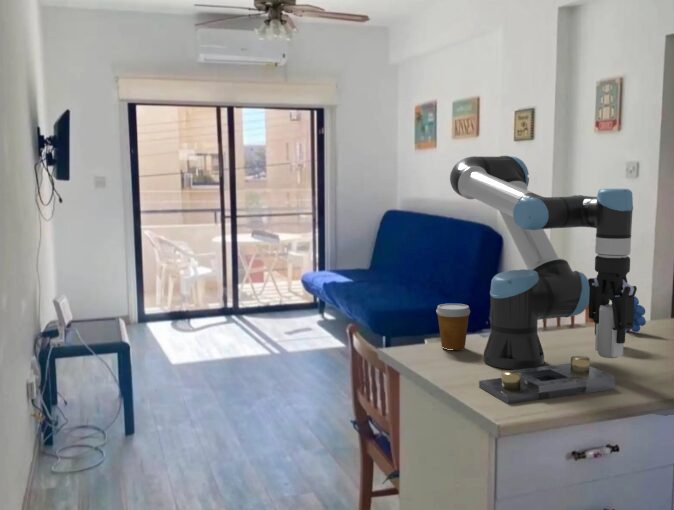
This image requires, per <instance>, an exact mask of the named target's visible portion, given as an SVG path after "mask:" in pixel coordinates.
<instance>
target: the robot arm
mask: <svg viewBox="0 0 674 510" xmlns="http://www.w3.org/2000/svg"><path fill="white" fill-rule="evenodd" d="M449 175H450V176H449V183H450V185H451V188H452V189H453V191H454V192H455V193H456V194H458V196H460V197H462V198H464V199H467V200H477V201H479V202H481V203H483V204H485V205H487V206H490V207H492V208H493V209H496V210H497V211H498V212H499V213H500V216H501V217H502V219H503V222H504V224H505V226H506V228H507V230H508V232H509V234H510V236H511V238H512V240H513V242H514V244H515V246H516V248H517V251H518V252H519V255H520V256H521V258H522V260H523V263H524V264H525V266H526V269H523V268H522V269H518V270H517V269H512V270H507V271H501V272H499V273H497V274H495V275H494V276H493V277H492V279H491V283H490V291H489V294H490V332H489V336H488V339H487V341H486V344H485V348H484V351H483V362H484V363H485V364H487V365H489V366H491V367H494V368H495V367H496V368H500V369H507V370H519V369H527V368H535V367H543V366H544V365H545V353H544V350H543V349H544V348H543V347H542V343H541V340H540V337H539V334H538V324H539V323H538V321H539V320H549V319H550V320H551V319H557V318H558V319H559V318H570V317H573V316H579V315H580V314H582V313H584V312H585V310H586V309H587V308H588V318H589V319H591V320H593V322H594V336H595V347H594V350H595V351H596V352H598V335H599V309H600V305H607V304H610V301H611V304H612V308H613V316H614V323H615V327H614V328H613V329H612V346H611V356H612V357H617V358H618V357H623V356H624V344H625V342H626V335H625V331H626V329H628V328H633V320H634V296H635V297H636V294H637V289H638V288H637V286H636V285H631V284H629V283H628V278H627V275H628V273H629V272H630V271H631V258H630V256H629V255H631V250H632V249H631V247H632V246H631V245H632V244H631V243H632V227H633V226H632V224H633V212H634V205H633V204H634V202H633V201H634V199H633V191H632V190H630V189H629V188H600V189H599V190H598V191H597V196H592V195H591V196H587V195H580V194H578V195H576V194H574V195H569V196H551V197H550V196H547V197H545V196H543V195H542V196H541V195H540V194H537V193H534V192H533V191H529V190H528V186H529V184H530V183H529V182H530V177H529V169H528V166H526V163H525V162H524V161H523V160H522V159H520V158H519V157H516V156H510V155H500V156H477V155H476V156H469V157H468V156H467V157H465V158H463V159H461V160H460V161H458V162H457V163H455V165H454V166H453V168H452V170H451V172H450V174H449ZM565 228H568V229H569V228H593V229H596V231H595V246H594V247H595V248H594V249H595V250H594V252H595V254H596V256H595V257H594V270H595V272H597V275H596V277H591V278H588V277H587V276H586V275H585V273H583V272H580V271H578V270H572V268H571V265H570V264H569V263H568V260H566V259H564V258H559V257H558V253H556V251H555V249H554V247H553V245H552V243H551V241H550V238H549V237H548V235H547V234H546V231H545V230H549V229H551V230H552V229H565ZM615 296H617V297H615ZM620 323H621V324H620ZM626 332H627V331H626Z"/></svg>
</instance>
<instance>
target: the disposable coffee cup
mask: <svg viewBox="0 0 674 510" xmlns="http://www.w3.org/2000/svg"><path fill="white" fill-rule="evenodd" d="M435 311H436V314H437V320H438V326H439V335H440V343H441V348H442V347H444V348H447V349H453V350H461V351H463V350H462V349H464V348H465V347H466V339H467V333H468V323H469V317H470V313H471V310H470V307H469V305H467V304H463V303H444V304H443V303H441V304H438V305H437V308H436V310H435ZM464 350H465V349H464Z"/></svg>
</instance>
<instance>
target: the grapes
mask: <svg viewBox="0 0 674 510" xmlns="http://www.w3.org/2000/svg"><path fill="white" fill-rule="evenodd" d="M615 297H617V296H615ZM645 314H646V309H645V307H644V306H642V305H641V304H640V300H639V298H638V297H637V296H636V295H635V296H634V320H633V328H628V329H627V330H626V332H630V331H632V332H634V333H639V332H640V330H641V327H643V326H645V325H646V322H647V321H646V318H645V317H644V315H645Z"/></svg>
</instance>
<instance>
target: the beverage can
mask: <svg viewBox="0 0 674 510" xmlns="http://www.w3.org/2000/svg"><path fill="white" fill-rule="evenodd" d="M620 324H621V323H620ZM614 327H615V323H614V316H613V308H612V303H611V304H610V303H609V304H607V305H600V309H599V335H598V351H597V354H598V355H599V357H602V358H605V359H616V358H618V357H612V356H611V346H612V329H613V328H614Z"/></svg>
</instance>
